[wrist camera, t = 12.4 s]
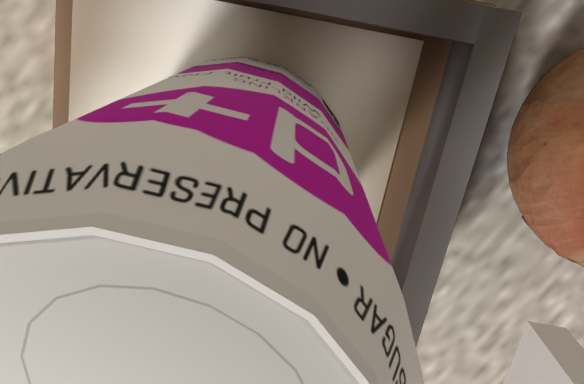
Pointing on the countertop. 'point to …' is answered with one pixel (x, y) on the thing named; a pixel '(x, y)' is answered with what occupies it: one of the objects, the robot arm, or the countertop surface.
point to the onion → (552, 159)
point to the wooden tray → (325, 90)
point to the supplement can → (197, 243)
